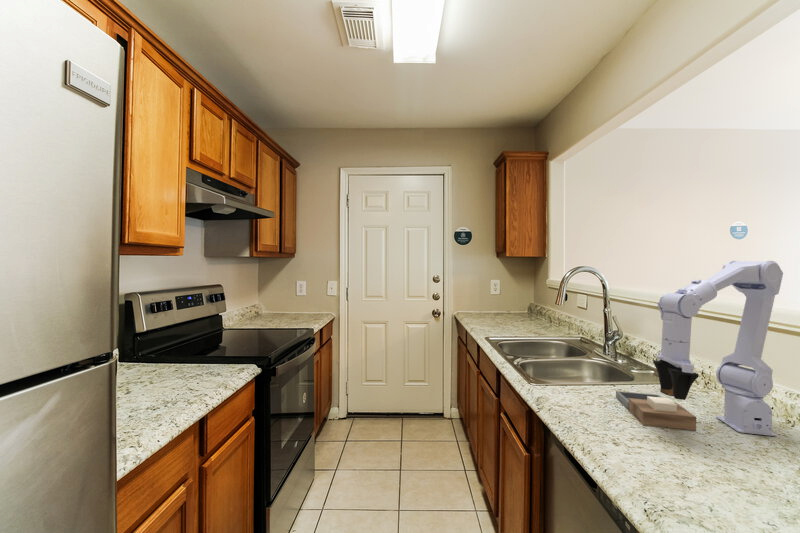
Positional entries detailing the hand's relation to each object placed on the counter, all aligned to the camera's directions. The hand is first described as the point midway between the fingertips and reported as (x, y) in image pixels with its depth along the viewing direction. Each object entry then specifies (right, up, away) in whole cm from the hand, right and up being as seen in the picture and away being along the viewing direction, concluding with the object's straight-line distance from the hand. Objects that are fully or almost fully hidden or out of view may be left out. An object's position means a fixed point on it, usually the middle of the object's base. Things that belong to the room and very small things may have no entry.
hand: (672, 393), depth 90 cm
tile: (+2, -6, +7) cm, 10 cm away
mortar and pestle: (+22, -10, +28) cm, 37 cm away
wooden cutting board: (+2, -10, +8) cm, 13 cm away
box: (+5, -10, +18) cm, 21 cm away
